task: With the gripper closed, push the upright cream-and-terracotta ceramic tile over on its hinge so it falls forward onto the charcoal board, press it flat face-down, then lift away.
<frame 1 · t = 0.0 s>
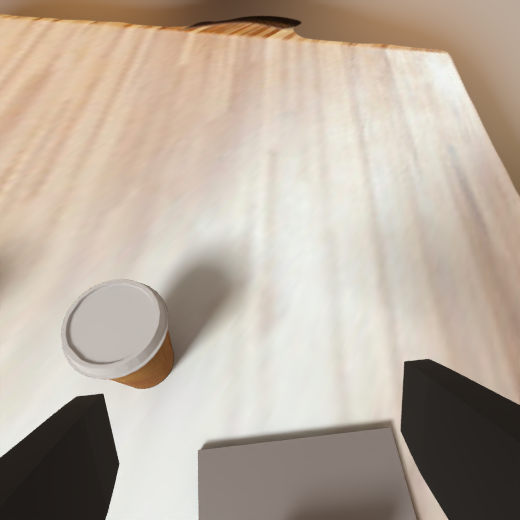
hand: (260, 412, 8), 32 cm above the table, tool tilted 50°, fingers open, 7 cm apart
disposable coffee cup: (147, 361, 42), on the table
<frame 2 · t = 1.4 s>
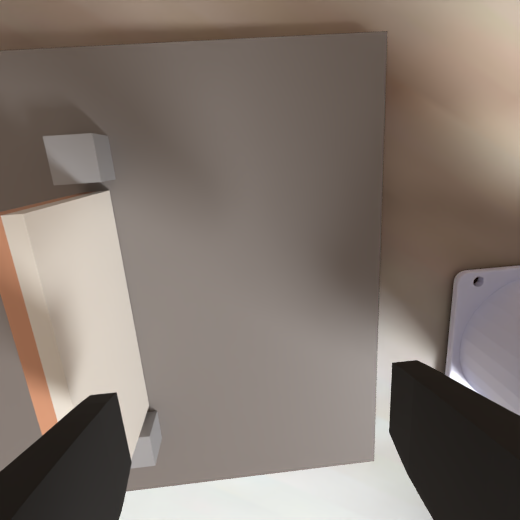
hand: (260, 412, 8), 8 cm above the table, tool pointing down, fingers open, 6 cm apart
tile: (93, 344, 12), point 4 cm above the table, hinge at 0.0°
board: (137, 298, 16), on the table
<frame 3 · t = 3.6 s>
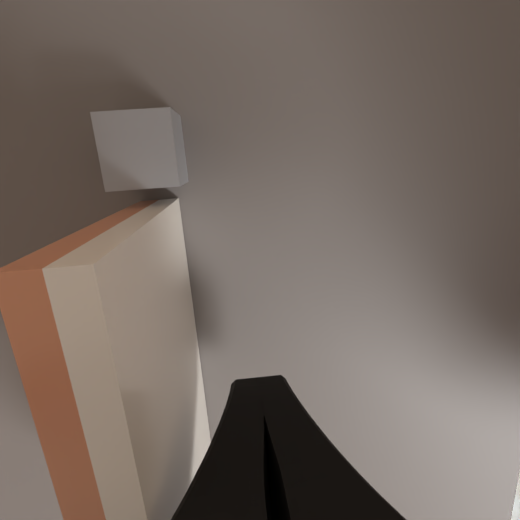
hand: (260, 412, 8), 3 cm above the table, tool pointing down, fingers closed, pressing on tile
tile: (166, 443, 8), point 4 cm above the table, hinge at 0.0°, touching gripper
board: (203, 346, 12), on the table
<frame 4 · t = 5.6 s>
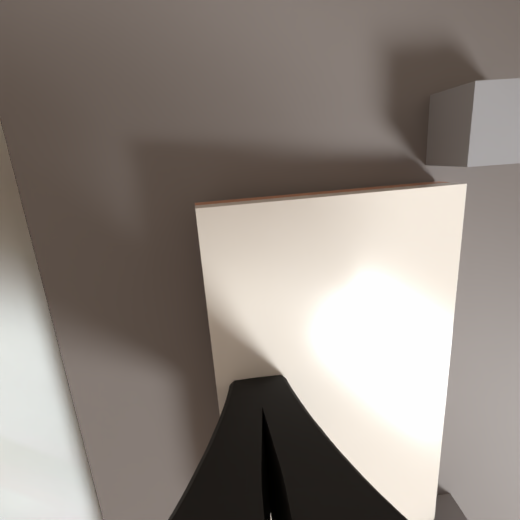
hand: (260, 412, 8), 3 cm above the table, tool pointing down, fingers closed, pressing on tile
tile: (332, 385, 9), point 2 cm above the table, hinge at 83.7°, touching gripper
board: (437, 336, 11), on the table
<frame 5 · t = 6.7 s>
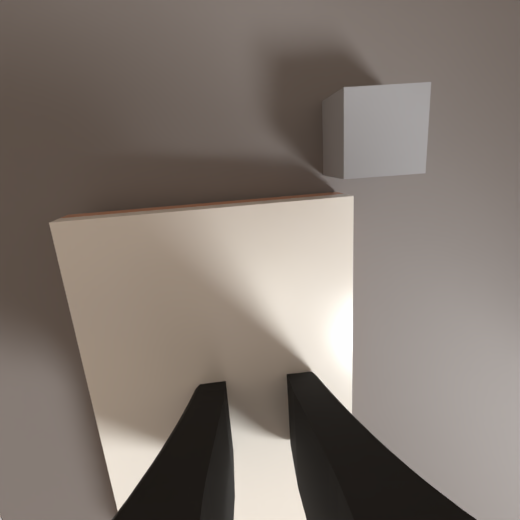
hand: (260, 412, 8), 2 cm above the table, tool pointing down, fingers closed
tile: (230, 404, 9), point 2 cm above the table, hinge at 85.4°, touching gripper
board: (360, 351, 11), on the table
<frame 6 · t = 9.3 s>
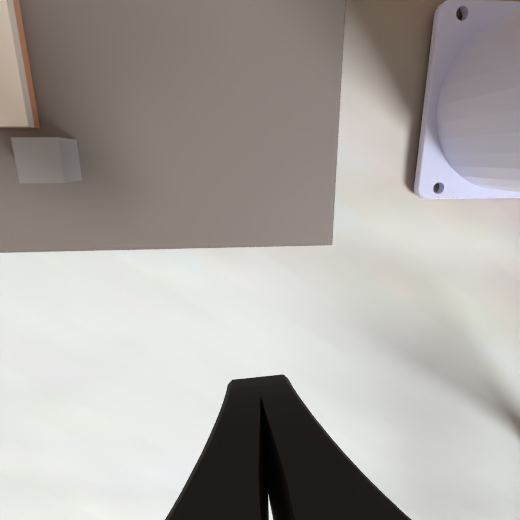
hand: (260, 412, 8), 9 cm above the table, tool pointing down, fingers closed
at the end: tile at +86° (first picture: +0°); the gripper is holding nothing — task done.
